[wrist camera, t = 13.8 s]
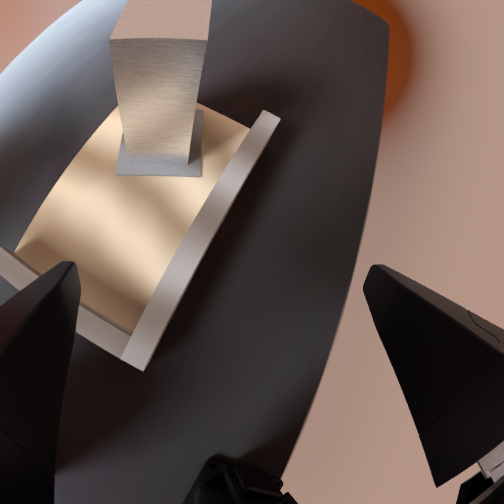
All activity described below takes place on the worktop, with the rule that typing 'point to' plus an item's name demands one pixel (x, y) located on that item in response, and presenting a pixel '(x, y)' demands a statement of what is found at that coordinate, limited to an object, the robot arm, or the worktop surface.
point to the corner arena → (137, 227)
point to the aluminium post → (159, 76)
